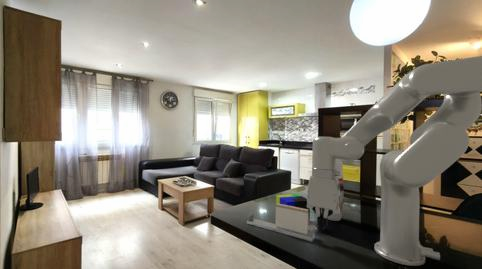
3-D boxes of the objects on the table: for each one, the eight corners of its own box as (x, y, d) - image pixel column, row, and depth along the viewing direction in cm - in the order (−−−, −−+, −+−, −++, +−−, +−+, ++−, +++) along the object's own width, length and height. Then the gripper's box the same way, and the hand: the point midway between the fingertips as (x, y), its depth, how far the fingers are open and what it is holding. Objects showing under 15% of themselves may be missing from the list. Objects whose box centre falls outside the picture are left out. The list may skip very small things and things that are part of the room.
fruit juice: (344, 197, 131) (345, 149, 131) (340, 201, 124) (340, 150, 124) (328, 194, 137) (328, 148, 137) (322, 198, 130) (323, 149, 130)
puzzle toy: (286, 227, 87) (287, 202, 87) (275, 218, 97) (276, 195, 97) (309, 225, 90) (309, 200, 90) (296, 216, 100) (297, 193, 100)
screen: (308, 233, 79) (308, 209, 79) (307, 234, 78) (307, 210, 78) (276, 224, 86) (277, 203, 86) (275, 226, 85) (275, 204, 85)
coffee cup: (346, 218, 98) (347, 183, 98) (339, 223, 92) (340, 186, 92) (327, 213, 104) (328, 180, 104) (319, 218, 98) (320, 183, 98)
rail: (314, 237, 79) (315, 229, 79) (311, 241, 76) (311, 232, 76) (251, 220, 94) (251, 213, 94) (246, 223, 91) (246, 216, 91)
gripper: (350, 174, 75) (348, 230, 75) (305, 169, 83) (304, 219, 83) (345, 178, 69) (344, 238, 69) (298, 172, 77) (296, 226, 77)
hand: (322, 228), depth 76 cm, fingers closed
